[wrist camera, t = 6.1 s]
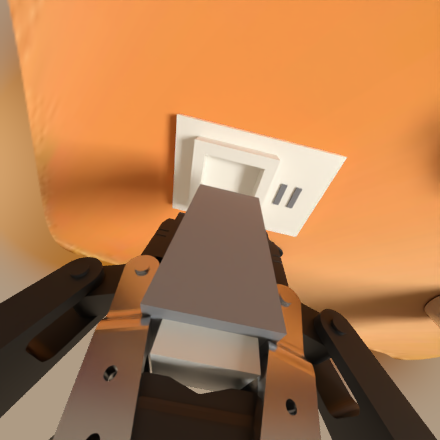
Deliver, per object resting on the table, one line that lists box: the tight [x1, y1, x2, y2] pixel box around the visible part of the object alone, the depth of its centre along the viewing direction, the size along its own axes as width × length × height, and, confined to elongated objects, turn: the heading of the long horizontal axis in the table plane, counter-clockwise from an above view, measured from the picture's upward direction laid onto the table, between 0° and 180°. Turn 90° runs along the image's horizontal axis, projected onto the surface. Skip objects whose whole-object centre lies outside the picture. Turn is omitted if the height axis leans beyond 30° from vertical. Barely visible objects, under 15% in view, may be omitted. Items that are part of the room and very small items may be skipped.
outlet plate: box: [172, 114, 347, 237], centre depth 17 cm, size 16×10×3 cm, turn 78°
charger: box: [140, 184, 287, 391], centre depth 8 cm, size 4×4×9 cm
